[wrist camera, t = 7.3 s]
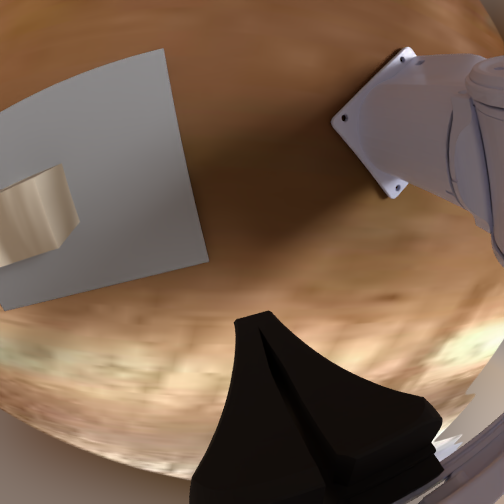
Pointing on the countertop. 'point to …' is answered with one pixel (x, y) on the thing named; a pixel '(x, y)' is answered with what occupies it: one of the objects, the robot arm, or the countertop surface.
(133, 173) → the rubber mat
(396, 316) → the countertop surface
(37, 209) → the birch block
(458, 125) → the robot arm
